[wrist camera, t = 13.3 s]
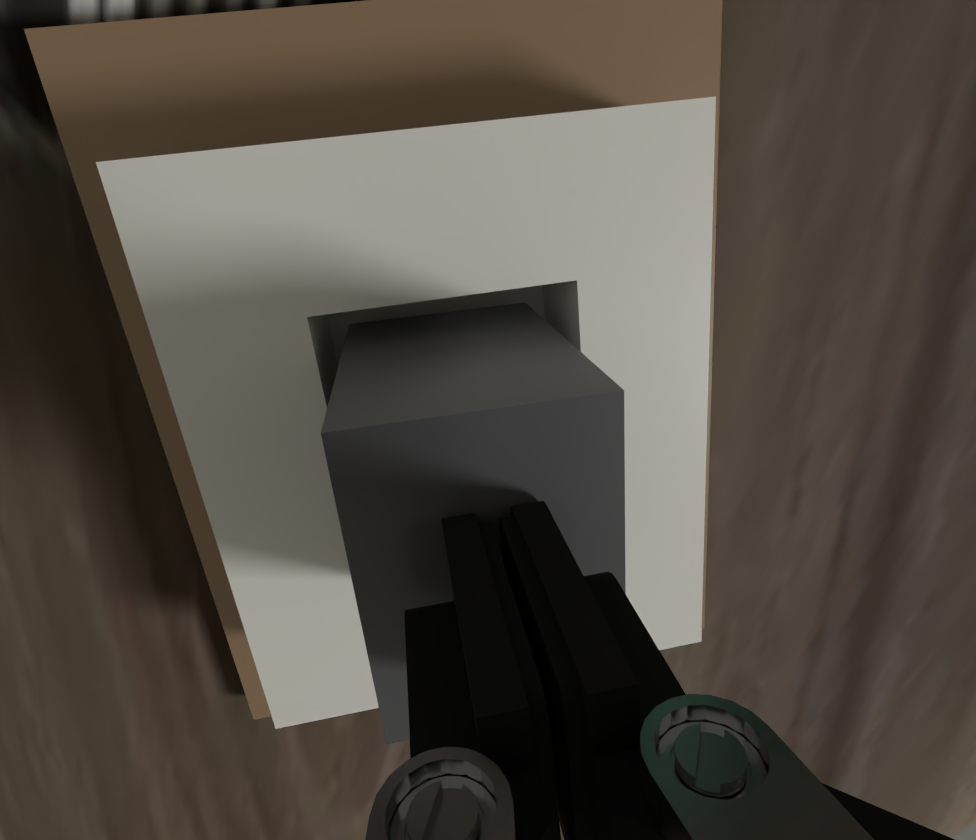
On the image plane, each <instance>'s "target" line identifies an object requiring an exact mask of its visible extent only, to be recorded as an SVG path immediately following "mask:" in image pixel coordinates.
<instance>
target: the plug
mask: <svg viewBox="0 0 976 840" xmlns="http://www.w3.org/2000/svg"><path fill="white" fill-rule="evenodd" d="M321 437H322V442H323V446H324V451H325V456H326V461H327V465H328V470H329V475H330V479H331V484H332V489H333V494H334V498H335V503H336V508H337V513H338V517H339V522H340V527H341V531H342V536H343V541H344V546H345V550H346V555H347V560H348V564H349V569H350V574H351V579H352V583H353V588H354V593H355V598H356V602H357V607H358V612H359V616H360V621H361V626H362V631H363V635H364V640H365V645H366V650H367V654H368V659H369V664H370V668H371V673H372V678H373V683H374V687H375V692H376V697H377V701H378V706H379V711H380V716H381V720H382V725H383V730H384V735H385V739H386V744H390V743H395V742H400V741H405V740H410V732H409V709H408V687H407V664H406V642H405V617H404V613H405V610H408V609H414V608H419V607H424V606H430V605H435V604H440V603H445V602H451V601H454V598H453V592H452V585H451V579H450V572H449V566H448V560H447V553H446V547H445V540H444V534H443V528H442V521H441V518H447V517H453V516H458V515H464V514H470V513H475V516H476V519H477V521H482V520H488V519H489V520H490V523H491V526H492V529H493V532H494V535H495V539H496V542H497V545H498V548H499V551H500V554H501V557H502V561H503V553H502V545H501V536H500V528H499V517H505V516H510V506H515V505H521V504H527V503H533V502H538V501H544V502H545V503H546V505H547V507H548V509H549V510H550V512H551V514H552V516H553V518H554V520H555V522H556V524H557V526H558V528H559V530H560V532H561V534H562V536H563V538H564V539H565V541H566V543H567V545H568V547H569V549H570V551H571V553H572V555H573V557H574V559H575V561H576V563H577V565H578V566H579V568H580V570H581V572H582V574H583V576H587V575H593V574H598V573H603V572H610V573H612V574H613V575H614V577H615V578H616V579H617V581H618V582H619V584H620V586H621V587H622V589H623V591H624V592H625V594H626V591H625V442H624V390H623V389H622V388H621V387H620V386H619V385H618V384H616V383H615V382H614V381H613V380H612V379H611V378H610V377H609V376H607V375H606V374H605V373H604V372H603V371H602V370H601V369H600V368H598V367H597V366H596V365H595V364H594V363H593V362H592V361H590V360H589V359H588V358H587V357H586V356H585V355H584V354H583V353H581V352H580V351H579V350H578V349H577V348H576V347H575V346H574V345H572V344H571V343H570V342H569V341H568V340H567V339H566V338H565V337H563V336H562V335H561V334H560V333H559V332H558V331H557V330H556V329H554V328H553V327H552V326H551V325H550V324H549V323H548V322H547V321H545V320H544V319H543V318H542V317H541V316H540V315H539V314H537V313H536V312H535V311H534V310H533V309H532V308H531V307H530V306H528V305H527V304H526V303H517V304H509V305H501V306H493V307H485V308H477V309H468V310H460V311H452V312H444V313H436V314H428V315H419V316H411V317H403V318H395V319H387V320H379V321H370V322H362V323H354V324H349V327H348V331H347V335H346V339H345V342H344V346H343V350H342V354H341V358H340V361H339V365H338V369H337V373H336V377H335V380H334V384H333V388H332V392H331V396H330V399H329V403H328V407H327V411H326V415H325V418H324V422H323V426H322V430H321ZM503 564H504V562H503Z"/></svg>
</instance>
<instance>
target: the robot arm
mask: <svg viewBox="0 0 976 840" xmlns="http://www.w3.org/2000/svg"><path fill="white" fill-rule="evenodd" d="M441 521H442V528H443V534H444V540H445V547H446V553H447V560H448V566H449V572H450V579H451V585H452V592H453V598H454V601H451V602H445V603H440V604H435V605H430V606H424V607H419V608H414V609H408V610H405V613H404V617H405V642H406V664H407V687H408V709H409V732H410V754H411V759H409V760H407V761H405V762H404V763H403V764H402V765H401V766H400V767H399V768H397V769H396V770H395V771H394V772H393V773H392V774H391V775H389V777H388V778H387V780H386V781H385V783H384V784H383V786H382V787H381V788H380V790H379V791H378V793H377V795H376V798H375V801H374V804H373V807H372V810H371V813H370V816H369V822H368V827H367V833H366V838H365V840H561V836H560V826H559V822H560V825H561V829H562V833H563V836H564V840H954V839H952V838H949V837H947V836H945V835H942V834H940V833H938V832H935V831H933V830H931V829H928V828H926V827H924V826H921V825H919V824H917V823H914V822H912V821H910V820H907V819H905V818H902V817H900V816H898V815H895V814H893V813H891V812H888V811H886V810H884V809H881V808H879V807H877V806H874V805H872V804H870V803H867V802H865V801H863V800H860V799H858V798H855V797H853V796H851V795H848V794H846V793H844V792H841V791H839V790H837V789H834V788H832V787H830V786H827V785H825V784H823V783H821V782H820V781H819V780H818V779H817V778H816V776H815V775H814V774H813V773H812V772H811V771H810V770H809V769H808V768H807V767H806V766H805V765H804V764H803V762H802V761H801V760H800V759H799V758H798V757H797V756H796V755H795V754H794V753H793V752H792V751H791V750H790V748H789V747H788V746H787V745H786V744H785V743H784V742H783V741H782V740H781V739H780V738H779V737H778V736H777V734H776V733H775V732H774V731H773V730H772V729H771V728H770V727H769V726H768V725H767V724H766V723H765V722H763V721H762V720H761V719H760V718H759V717H757V716H756V715H755V714H754V713H753V712H752V711H750V710H748V709H746V708H744V707H742V706H740V705H738V704H736V703H735V702H733V701H730V700H727V699H723V698H719V697H716V696H712V695H697V694H688V695H686V694H685V693H684V691H683V689H682V688H681V686H680V684H679V683H678V681H677V679H676V678H675V676H674V674H673V673H672V671H671V669H670V668H669V666H668V664H667V663H666V661H665V659H664V658H663V656H662V654H661V653H660V651H659V649H658V648H657V646H656V644H655V643H654V641H653V639H652V638H651V636H650V634H649V633H648V631H647V629H646V628H645V626H644V624H643V623H642V621H641V619H640V618H639V616H638V614H637V613H636V611H635V609H634V608H633V606H632V604H631V603H630V601H629V599H628V597H627V596H626V594H625V592H624V591H623V589H622V587H621V586H620V584H619V582H618V581H617V579H616V578H615V577H614V575H613V574H612V573H610V572H603V573H598V574H593V575H587V576H583V574H582V572H581V570H580V568H579V566H578V565H577V563H576V561H575V559H574V557H573V555H572V553H571V551H570V549H569V547H568V545H567V543H566V541H565V539H564V538H563V536H562V534H561V532H560V530H559V528H558V526H557V524H556V522H555V520H554V518H553V516H552V514H551V512H550V510H549V509H548V507H547V505H546V503H545V502H544V501H538V502H533V503H527V504H521V505H515V506H510V516H505V517H499V528H500V536H501V545H502V553H503V561H502V557H501V554H500V551H499V548H498V545H497V542H496V539H495V535H494V532H493V529H492V526H491V523H490V520H489V519H488V520H482V521H477V519H476V516H475V513H470V514H464V515H458V516H453V517H447V518H441ZM503 562H504V564H503Z"/></svg>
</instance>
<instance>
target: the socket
mask: <svg viewBox="0 0 976 840" xmlns="http://www.w3.org/2000/svg"><path fill="white" fill-rule="evenodd" d="M721 30H722V0H367V1H355V2H343V3H330V4H318V5H306V6H294V7H282V8H270V9H258V10H246V11H234V12H222V13H210V14H198V15H186V16H174V17H162V18H150V19H138V20H126V21H114V22H102V23H90V24H78V25H65V26H53V27H41V28H29V29H24V31H25V34H26V37H27V40H28V43H29V46H30V49H31V52H32V55H33V58H34V61H35V64H36V67H37V70H38V73H39V76H40V79H41V82H42V85H43V88H44V91H45V94H46V97H47V100H48V103H49V106H50V109H51V112H52V115H53V118H54V121H55V124H56V127H57V130H58V133H59V136H60V139H61V142H62V145H63V148H64V151H65V154H66V157H67V160H68V163H69V166H70V169H71V172H72V175H73V178H74V181H75V184H76V187H77V190H78V193H79V196H80V199H81V202H82V205H83V208H84V211H85V214H86V217H87V220H88V223H89V226H90V229H91V232H92V235H93V238H94V241H95V244H96V247H97V250H98V253H99V256H100V259H101V262H102V265H103V268H104V271H105V274H106V277H107V280H108V283H109V286H110V289H111V292H112V295H113V298H114V301H115V304H116V307H117V310H118V313H119V316H120V319H121V322H122V325H123V328H124V331H125V334H126V337H127V340H128V343H129V346H130V349H131V352H132V355H133V358H134V361H135V364H136V367H137V370H138V373H139V376H140V379H141V382H142V385H143V388H144V391H145V394H146V397H147V400H148V403H149V406H150V409H151V412H152V415H153V418H154V421H155V424H156V427H157V430H158V433H159V436H160V439H161V442H162V445H163V448H164V451H165V454H166V457H167V460H168V463H169V466H170V469H171V472H172V475H173V478H174V481H175V485H176V488H177V491H178V494H179V497H180V500H181V503H182V506H183V509H184V512H185V515H186V518H187V521H188V524H189V527H190V530H191V533H192V536H193V539H194V542H195V545H196V548H197V551H198V554H199V557H200V560H201V563H202V566H203V569H204V572H205V575H206V578H207V581H208V584H209V587H210V590H211V593H212V596H213V599H214V602H215V605H216V608H217V611H218V614H219V617H220V620H221V623H222V626H223V629H224V632H225V635H226V638H227V641H228V644H229V647H230V650H231V653H232V656H233V659H234V662H235V665H236V668H237V671H238V674H239V677H240V680H241V683H242V686H243V689H244V692H245V695H246V698H247V701H248V704H249V707H250V710H251V713H252V716H253V719H254V720H255V719H260V718H265V717H270V716H272V719H273V722H274V725H275V728H276V729H277V728H282V727H287V726H292V725H297V724H302V723H307V722H312V721H316V720H321V719H326V718H331V717H336V716H341V715H346V714H351V713H355V712H360V711H365V710H370V709H375V708H379V706H378V701H377V697H376V692H375V687H374V683H373V678H372V673H371V668H370V664H369V659H368V654H367V650H366V645H365V640H364V635H363V631H362V626H361V621H360V616H359V612H358V607H357V602H356V598H355V593H354V588H353V583H352V579H351V574H350V569H349V564H348V560H347V555H346V550H345V546H344V541H343V536H342V531H341V527H340V522H339V517H338V513H337V508H336V503H335V498H334V494H333V489H332V484H331V479H330V475H329V470H328V465H327V461H326V456H325V451H324V446H323V442H322V437H321V430H322V426H323V422H324V418H325V415H326V411H327V407H328V403H329V399H330V396H331V392H332V388H333V384H334V380H335V377H336V373H337V369H338V365H339V361H340V358H341V354H342V350H343V346H344V342H345V339H346V335H347V331H348V327H349V324H354V323H362V322H370V321H379V320H387V319H395V318H403V317H411V316H419V315H428V314H436V313H444V312H452V311H460V310H468V309H477V308H485V307H493V306H501V305H509V304H517V303H526V304H527V305H528V306H530V307H531V308H532V309H533V310H534V311H535V312H536V313H537V314H539V315H540V316H541V317H542V318H543V319H544V320H545V321H547V322H548V323H549V324H550V325H551V326H552V327H553V328H554V329H556V330H557V331H558V332H559V333H560V334H561V335H562V336H563V337H565V338H566V339H567V340H568V341H569V342H570V343H571V344H572V345H574V346H575V347H576V348H577V349H578V350H579V351H580V352H581V353H583V354H584V355H585V356H586V357H587V358H588V359H589V360H590V361H592V362H593V363H594V364H595V365H596V366H597V367H598V368H600V369H601V370H602V371H603V372H604V373H605V374H606V375H607V376H609V377H610V378H611V379H612V380H613V381H614V382H615V383H616V384H618V385H619V386H620V387H621V388H622V389H623V390H624V442H625V591H626V596H627V597H628V599H629V601H630V603H631V604H632V606H633V608H634V609H635V611H636V613H637V614H638V616H639V618H640V619H641V621H642V623H643V624H644V626H645V628H646V629H647V631H648V633H649V634H650V636H651V638H652V639H653V641H654V643H655V644H656V646H657V648H658V649H659V650H662V649H667V648H672V647H677V646H682V645H687V644H692V643H696V642H701V636H702V629H703V628H704V623H705V588H706V553H707V518H708V483H709V448H710V414H711V379H712V344H713V309H714V274H715V239H716V205H717V170H718V135H719V100H720V65H721Z"/></svg>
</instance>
